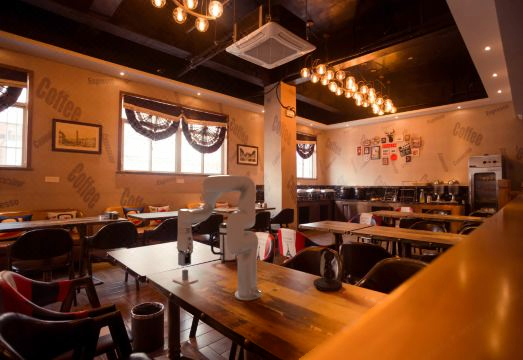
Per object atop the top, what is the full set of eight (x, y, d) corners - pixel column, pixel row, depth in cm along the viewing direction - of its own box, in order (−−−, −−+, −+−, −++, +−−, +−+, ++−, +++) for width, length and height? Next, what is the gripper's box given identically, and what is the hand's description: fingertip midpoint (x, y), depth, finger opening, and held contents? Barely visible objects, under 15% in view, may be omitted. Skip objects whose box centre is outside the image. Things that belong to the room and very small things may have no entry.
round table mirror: (310, 282, 155) (310, 246, 155) (336, 281, 156) (336, 245, 156) (317, 293, 141) (317, 253, 141) (346, 292, 142) (345, 252, 142)
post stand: (198, 281, 160) (197, 270, 160) (184, 285, 153) (184, 274, 154) (186, 276, 168) (186, 266, 168) (172, 280, 161) (172, 270, 161)
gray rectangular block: (191, 264, 161) (191, 252, 161) (183, 266, 157) (183, 254, 157) (185, 262, 165) (185, 251, 165) (178, 264, 161) (178, 253, 161)
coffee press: (225, 256, 213) (225, 216, 213) (243, 259, 205) (242, 218, 205) (210, 262, 198) (209, 219, 198) (228, 265, 190) (227, 221, 190)
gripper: (198, 231, 158) (199, 263, 158) (182, 228, 170) (182, 258, 170) (187, 233, 153) (187, 266, 153) (170, 229, 164) (170, 260, 164)
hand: (184, 262), depth 161 cm, fingers closed on gray rectangular block, 5 cm apart
